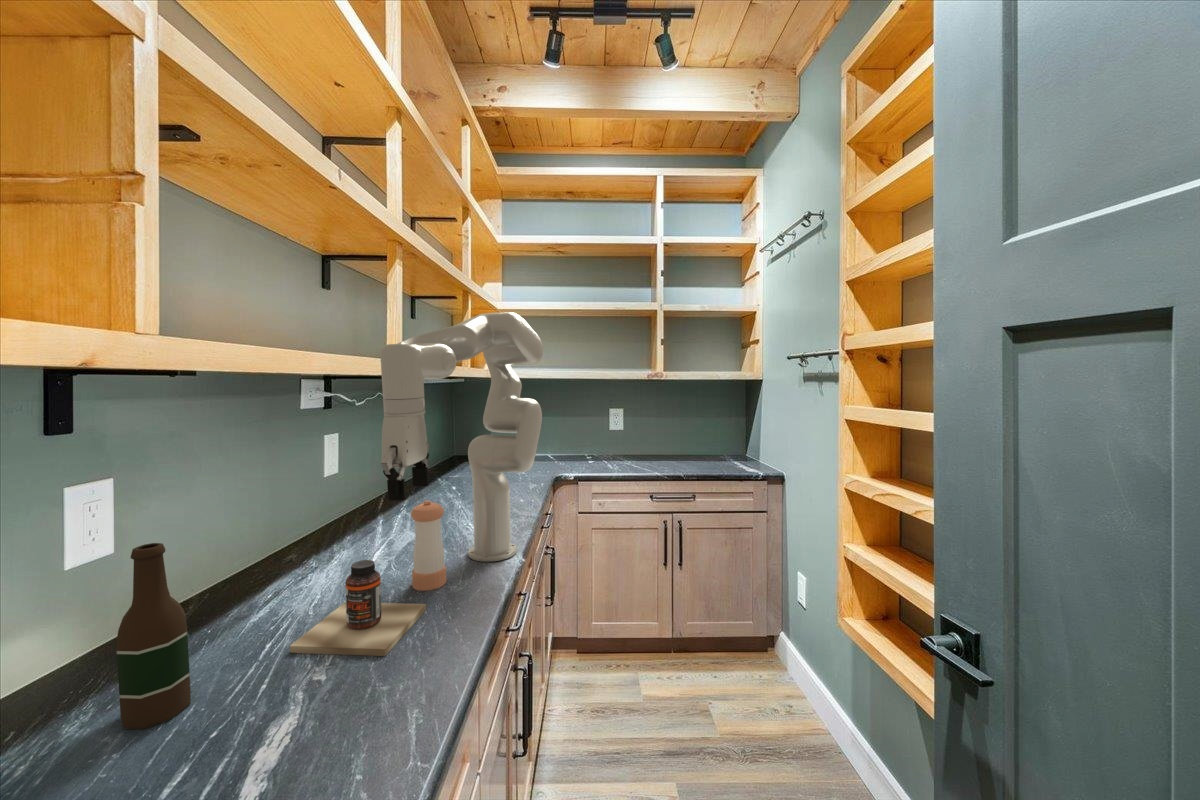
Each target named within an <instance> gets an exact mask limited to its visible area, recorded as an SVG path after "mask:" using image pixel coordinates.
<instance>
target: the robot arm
mask: <svg viewBox="0 0 1200 800" xmlns="http://www.w3.org/2000/svg"><path fill="white" fill-rule="evenodd" d="M379 353H380V354H379V355H380V357H379V358H380V371H381V372H380V373H381V385H382V398H383V399H382V402H383V403H382V404H383V416H384V417H383V420H382V431H381V460H380V465H381V468H382V470H383V471H382V472H383V475H384V478H385V481H386V483H387V499H388V501H393V502H394V501H397V502H398V501H405V500H406V499H407V498H406V497H407V496H406V479H404V478H403V477H404V474H405V472H406V471H405V470H406V468H409V467H411V466H412V467H411V473H412V474H411V475H412V485H413V487H428V486H429V482H430V481H429V461H428V460H429V458H430V457H429V456H430V453H429V451H430V443H429V442H428V437H427V435H428V434H427V428H426V427H427V426H426V420H425V415H426V403H425V402H426V401H425V383H424V380H443V379H446V378H448V377H450V376H451V375H452V374H453V373H454V371H455V370H456V367H457V363H458V362H462V361H468V360H471V359H472V358H475V357H476V356H478V355H479V354H481V353H482V355H483V357H484V361H485V363H486V365H487V369H488V371H489V376H490V379H491V380H490V387H489V391H488V395H487V399H486V404H485V408H484V410H483V411H484V412H483V416H482V417H483V418H482V423H483V426H484V428H485V429H486V430H487V431H489V432H491V433H492V432H493V433H501V434H482V435H478V436H476V437H475V438H473V439H472V440H471V442H469V445H468V449H467V457H468V463H469V467H470V472H471V479H472V507H473V508H472V509H473V511H472V513H473V543H474V544H473V546H471V547H470V548H469V549H468V551H467V554H468V557H469V558H470V559H471V560H473V561H475V562H476V561H477V562H483V563H484V562H486V563H490V562H498V561H504V560H506V559H509V558H511V557H513V556H515V554H516V553H518V552H517V550H518V549H517V545H516V544H514V543H513V542H511V541H512V539H511V537H512V536H511V490H510V484H509V481H508V479H507V477H506V475H505V474H504V473H511V474H512V473H514V474H517V473H518V474H521V473H526V472H528V471H530V470H531V469H532V467H533V465H534V461H535V458H536V454H537V450H538V449H537V448H538V444H539V439H540V434H541V429H542V423H543V412H542V407H541V404H540V403H539V402H538V401H537V400H536V399H534V398H529V397H521V395H522V394H521V393H522V388H523V385H522V381H521V380H520V377H519V375H518V374H517V373H516V372H515V370H514V369H513V367H512V366H517V365H519V366H520V365H521V366H525V365H526V366H527V365H535V364H538V363H539V362H540V360H541V359H542V358H543V353H544V346H543V342H542V340H541V338H540V336H539V335H538V333H537V332H536V331H535V330H534V329H533V328H532V327H531V325H530V324H529V323H528V322H527V321H526V320H525V319H524V318H523V317H522V316H521V315H520V314H517V313H516V312H511V311H507V312H506V311H503V312H502V311H501V312H487V313H486V312H484V313H480V314H478V315H474V316H472V317H469V318H468V319H465V320H464V321H462V322H459V323H458V324H455V325H452V326H447V327H443V328H440V329H437V330H434V331H430V332H429V331H428V332H426V333H421V334H418V335H415V336H412V337H409V338H406V339H404V340H402V341H400V342H398V343H389V344H384V345H383V346H382V347H381V349H380V352H379ZM504 434H505V435H504ZM507 434H516V435H507Z"/></svg>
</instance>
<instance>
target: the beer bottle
mask: <svg viewBox="0 0 1200 800" xmlns="http://www.w3.org/2000/svg"><path fill="white" fill-rule="evenodd" d="M164 553H166V547H165V545H164V543H162V542H161V543H160V542H152V543H147V544H143V545H142V544H141V545H139V546H136V547H134V548H132V549H131V554H130V559H131V560H133V571H132V572H133V575H132V577H133V583H132V601H131V605H130V607H129V608H128V610H127V611H126V612H125V614H124V615H123V617H122V619H121V622H120V624H119V627H118V629H117V636H116V665H117V677H118V678H117V680H118V693H119V695H118V696H119V711H120V719H121V726H122V728H123V729H124V728H129V729H128V730H145V729H149V728H151V727H154V726H157V725H159V724H162V723H165V722H167V721H168V722H169V721H170V720H172V719H174V718H175V717H177V715H179V714H180V713H181V712H183V711H184V710H185V709H187V708H188V707H189V706H190V704H191V690H192V689H191V676H190V674H191V673H190V659H189V656H190V653H189V640H188V638H189V637H188V626H187V619H186V618H187V617H186V612H185V610H184V608H183V607H182V605H181V603H180V602H178V601H177V600H176V599H175V598H173V596H171V594H170V590H169V588H168V582H167V581H168V580H167V573H166V566H165V560H164ZM148 727H149V728H148Z"/></svg>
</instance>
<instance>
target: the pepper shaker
mask: <svg viewBox="0 0 1200 800" xmlns="http://www.w3.org/2000/svg"><path fill="white" fill-rule="evenodd" d="M444 513H445V510H444V508H443V506H442V505H441V504H440V503H436V502H432V501H431V500H428V499H427V500H424V501H423V503H420V504H418V505H416V506H414V507H413V508H412V510H411V513H410V516H411V519H412V520H413V521H414V533H415V535H414V546H413V554H412V559H413V560H412V561H413V562H412V563H413V569H412V571H411V576H412V577H411V580H412V581H411V582H412V583H411V584H412V588H413V589H414V590H415V591H422V592H425V591H426V592H427V591H432V590H436V589H439V588H441V587H443V586H444V585H445V584H446V583H447V566H446V565H445V549H444V544H443V540H442V539H443V538H442V528H441V527H442V525H441V523H442V521H441V518H442V517H443V516H444Z"/></svg>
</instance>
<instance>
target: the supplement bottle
mask: <svg viewBox="0 0 1200 800" xmlns="http://www.w3.org/2000/svg"><path fill="white" fill-rule="evenodd" d="M375 564H376V563H375V561H374V560H371V559H364V560H363V559H362V560H358V561H355V562H354V563H352V564H351V565H350V573H351V574H349V575H348V576H347V577H346V580H345V602H346V621H347V626H348V627H349V628H352V629H364V628H368V627H371V626H373V625H375V624H376V623H378V622H379V621H380V620H381V603H382V581H381V574H380V572H379V571H377V570H375V569H376V565H375Z"/></svg>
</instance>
